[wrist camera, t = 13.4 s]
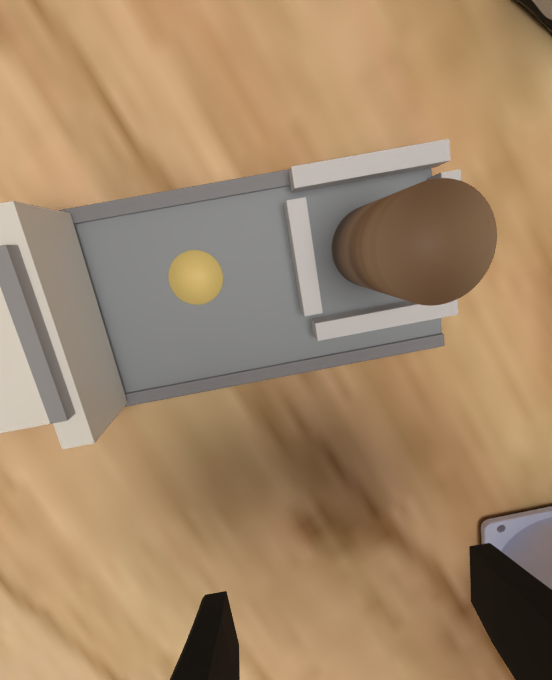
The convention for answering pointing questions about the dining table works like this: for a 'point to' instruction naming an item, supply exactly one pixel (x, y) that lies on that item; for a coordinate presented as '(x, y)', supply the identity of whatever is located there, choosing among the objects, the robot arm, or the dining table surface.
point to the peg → (419, 242)
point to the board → (249, 276)
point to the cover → (52, 331)
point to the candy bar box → (540, 10)
